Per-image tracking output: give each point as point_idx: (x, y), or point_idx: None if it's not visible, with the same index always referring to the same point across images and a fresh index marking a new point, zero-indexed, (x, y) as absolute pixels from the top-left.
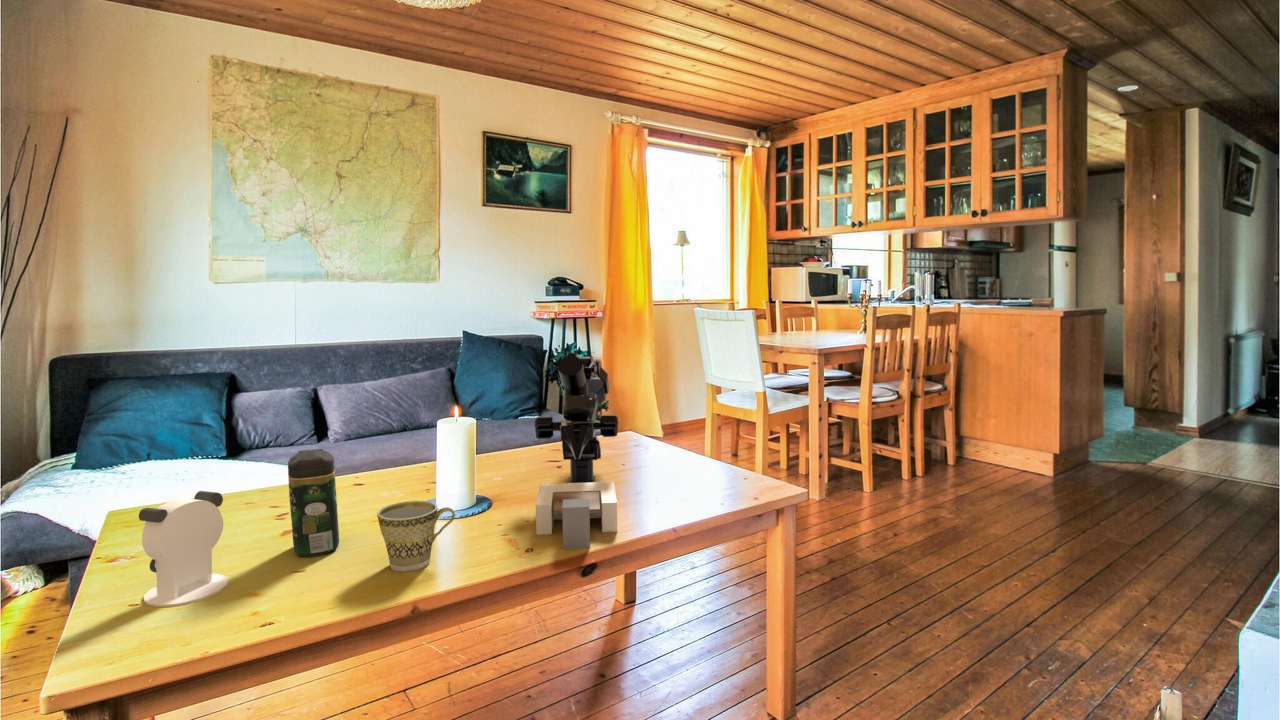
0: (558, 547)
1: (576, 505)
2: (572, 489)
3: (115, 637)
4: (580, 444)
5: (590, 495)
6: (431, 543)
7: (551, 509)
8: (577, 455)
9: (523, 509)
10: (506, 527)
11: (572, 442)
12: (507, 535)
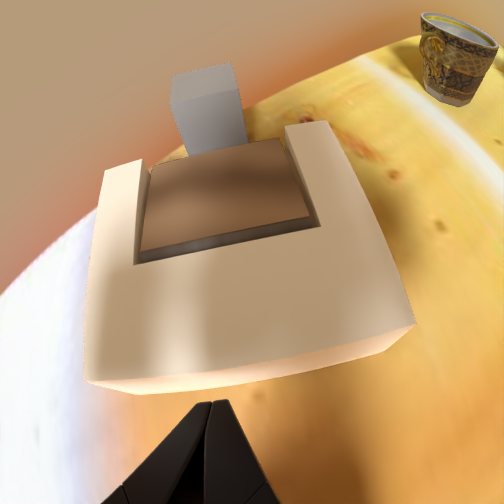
0: (255, 136)
1: (200, 74)
2: (245, 262)
3: (500, 49)
4: (150, 476)
5: (171, 221)
6: (426, 65)
7: (288, 147)
8: (207, 409)
9: (440, 354)
10: (415, 211)
11: (247, 494)
12: (386, 171)
